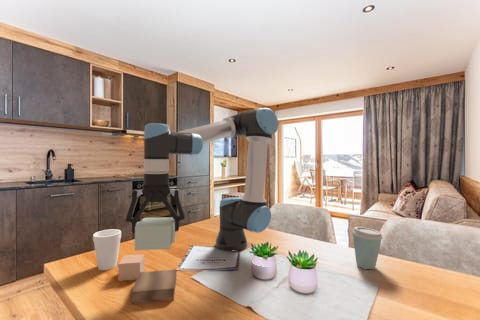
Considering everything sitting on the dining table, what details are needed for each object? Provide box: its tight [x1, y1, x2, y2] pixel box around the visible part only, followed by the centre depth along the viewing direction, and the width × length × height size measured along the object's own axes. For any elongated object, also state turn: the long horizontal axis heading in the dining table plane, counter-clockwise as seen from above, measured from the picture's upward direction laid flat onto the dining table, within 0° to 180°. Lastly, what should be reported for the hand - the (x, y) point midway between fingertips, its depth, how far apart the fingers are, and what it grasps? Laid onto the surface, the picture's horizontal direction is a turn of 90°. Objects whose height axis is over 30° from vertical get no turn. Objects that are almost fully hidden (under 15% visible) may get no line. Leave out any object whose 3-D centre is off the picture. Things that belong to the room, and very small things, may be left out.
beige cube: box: [117, 253, 145, 282], centre depth 86 cm, size 7×7×6 cm
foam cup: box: [92, 228, 122, 271], centre depth 92 cm, size 10×9×13 cm
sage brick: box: [134, 216, 174, 251], centre depth 76 cm, size 10×10×7 cm
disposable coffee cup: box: [352, 226, 383, 270], centre depth 94 cm, size 11×11×15 cm
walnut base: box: [130, 269, 177, 305], centre depth 76 cm, size 12×12×4 cm
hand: (156, 242), depth 76 cm, fingers closed on sage brick, 10 cm apart
